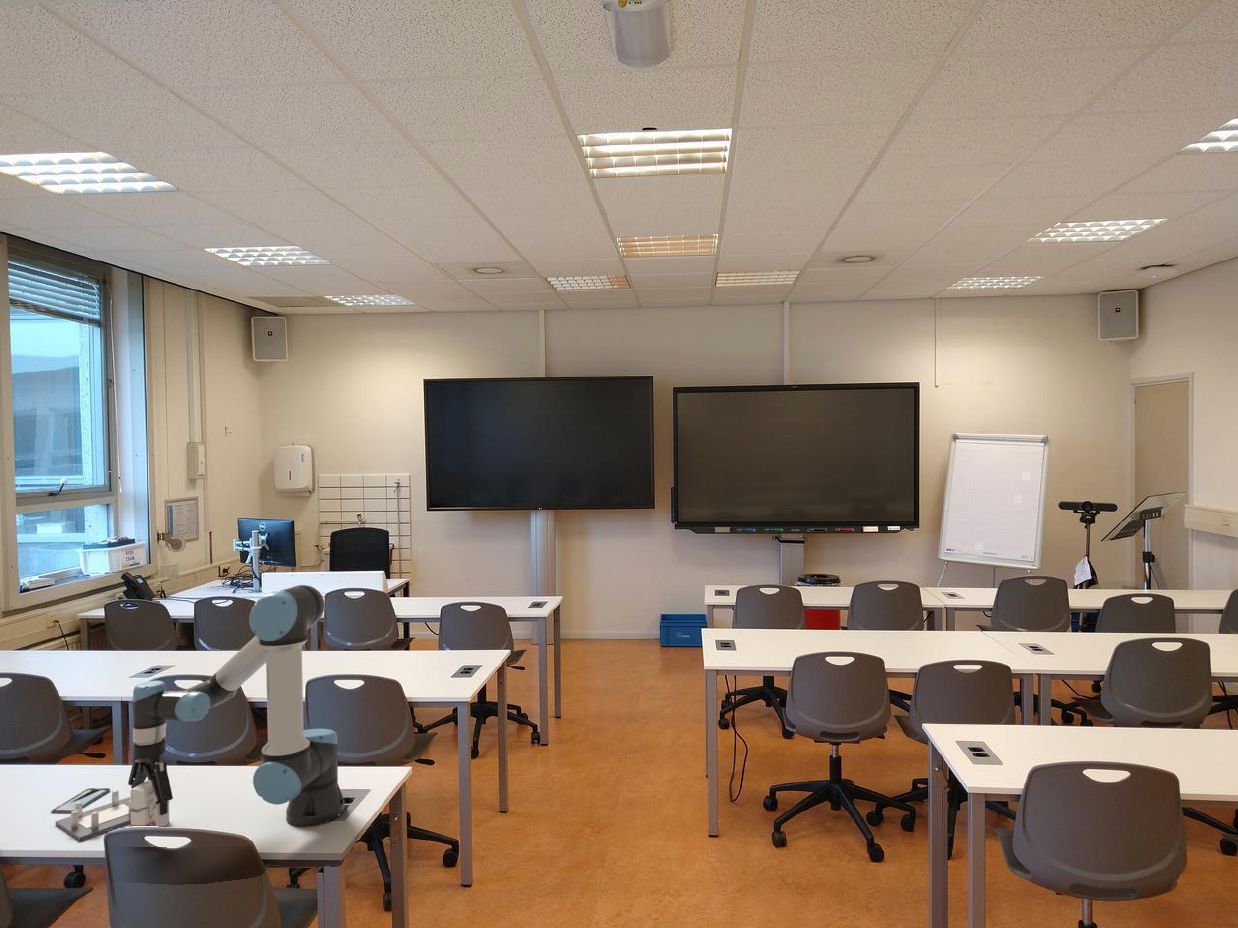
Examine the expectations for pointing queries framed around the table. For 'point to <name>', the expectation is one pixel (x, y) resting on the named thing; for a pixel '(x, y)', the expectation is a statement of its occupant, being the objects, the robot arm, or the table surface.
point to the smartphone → (81, 799)
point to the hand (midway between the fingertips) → (150, 818)
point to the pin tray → (102, 827)
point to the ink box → (143, 805)
